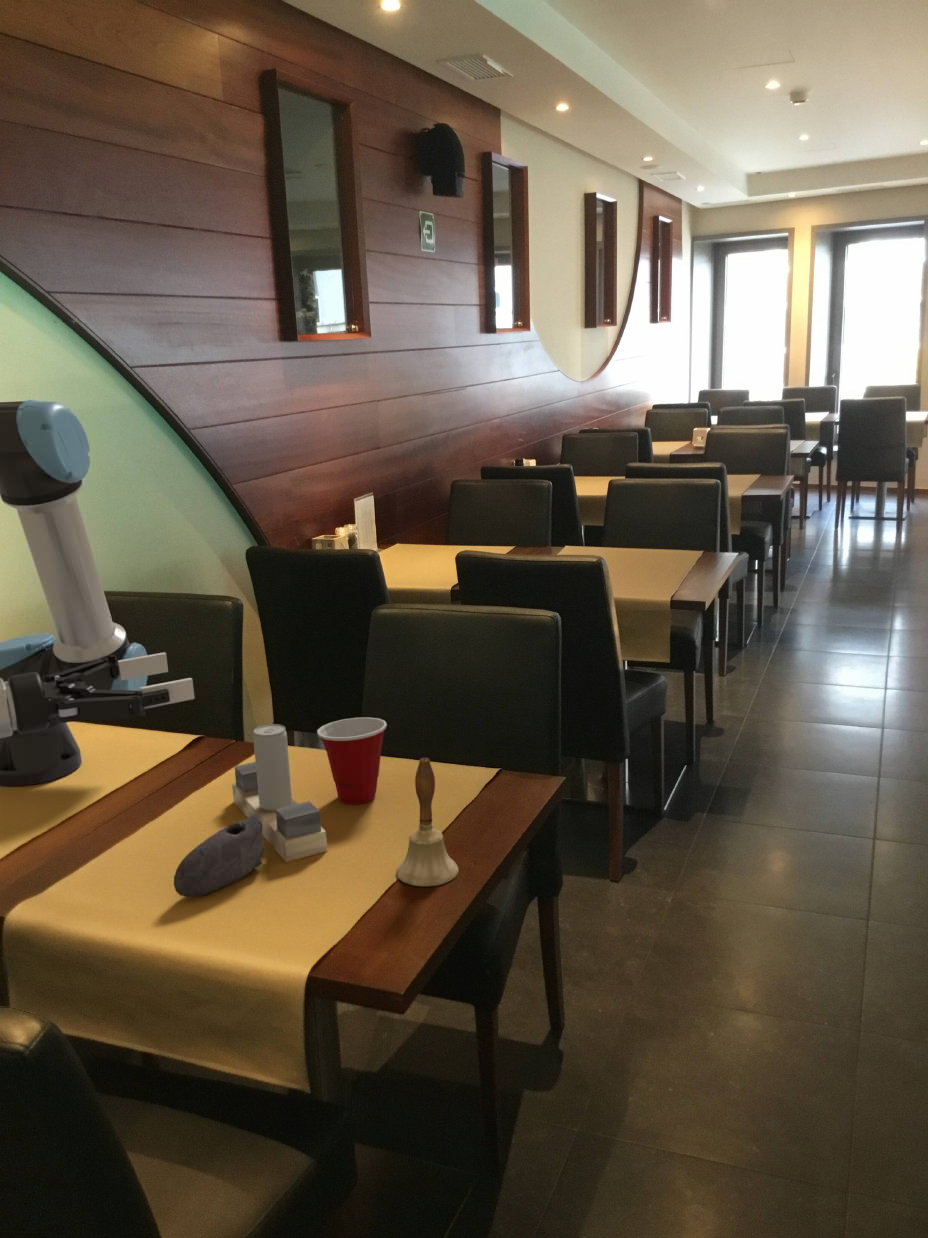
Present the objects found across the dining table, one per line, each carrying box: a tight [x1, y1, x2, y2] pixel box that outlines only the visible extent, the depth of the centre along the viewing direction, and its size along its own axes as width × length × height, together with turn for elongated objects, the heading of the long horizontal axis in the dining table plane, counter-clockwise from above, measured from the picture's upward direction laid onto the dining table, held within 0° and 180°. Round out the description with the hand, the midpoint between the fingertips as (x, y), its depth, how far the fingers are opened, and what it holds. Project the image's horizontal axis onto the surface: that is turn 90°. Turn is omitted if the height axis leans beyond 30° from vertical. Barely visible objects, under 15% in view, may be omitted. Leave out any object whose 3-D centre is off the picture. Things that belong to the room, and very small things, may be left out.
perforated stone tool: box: [173, 816, 266, 898], centre depth 132 cm, size 15×5×7 cm, turn 142°
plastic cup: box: [316, 716, 388, 805], centre depth 157 cm, size 11×11×12 cm
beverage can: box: [252, 723, 293, 812], centre depth 147 cm, size 5×5×12 cm
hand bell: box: [395, 757, 460, 887], centre depth 132 cm, size 8×8×16 cm
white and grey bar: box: [231, 761, 328, 863], centre depth 148 cm, size 24×6×6 cm, turn 30°
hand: (179, 674), depth 137 cm, fingers open, 13 cm apart
